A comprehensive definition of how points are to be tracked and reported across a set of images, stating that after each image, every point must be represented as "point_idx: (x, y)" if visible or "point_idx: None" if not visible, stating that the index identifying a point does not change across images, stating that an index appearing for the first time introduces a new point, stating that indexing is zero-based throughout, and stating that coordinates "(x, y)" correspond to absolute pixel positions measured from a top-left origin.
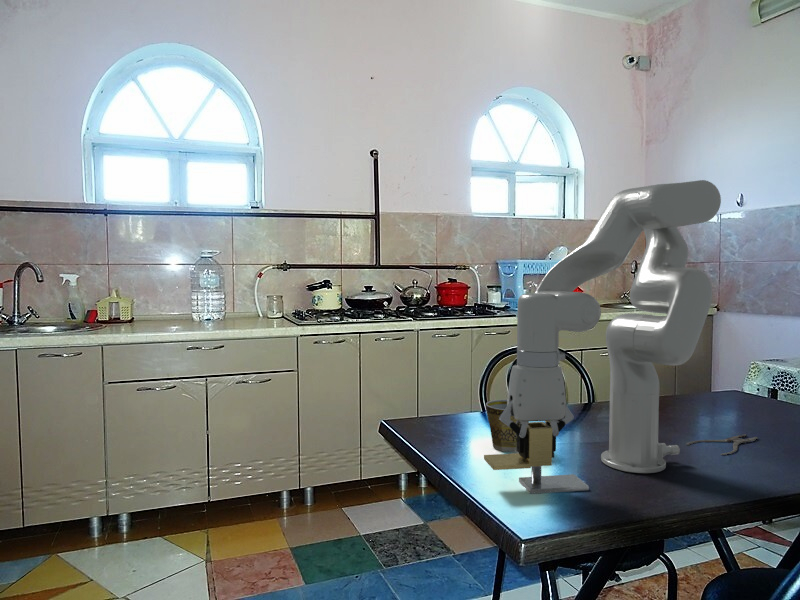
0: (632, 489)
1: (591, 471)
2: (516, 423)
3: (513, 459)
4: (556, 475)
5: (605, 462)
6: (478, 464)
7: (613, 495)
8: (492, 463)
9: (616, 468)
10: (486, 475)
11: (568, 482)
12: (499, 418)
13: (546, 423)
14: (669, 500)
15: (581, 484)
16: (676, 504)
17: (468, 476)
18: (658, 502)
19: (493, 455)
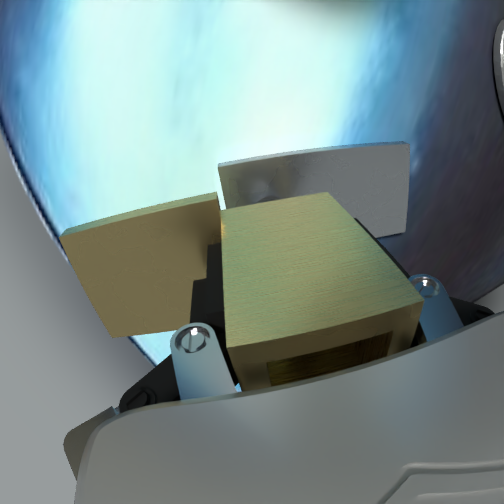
0: (473, 221)
1: (457, 98)
2: (181, 392)
3: (179, 283)
4: (356, 148)
5: (497, 73)
6: (97, 14)
7: (428, 252)
8: (104, 320)
9: (502, 109)
10: (110, 114)
11: (368, 208)
12: (66, 442)
13: (417, 340)
14: (484, 267)
15: (393, 222)
16: (480, 280)
17: (57, 135)
18: (467, 276)
19: (94, 240)
